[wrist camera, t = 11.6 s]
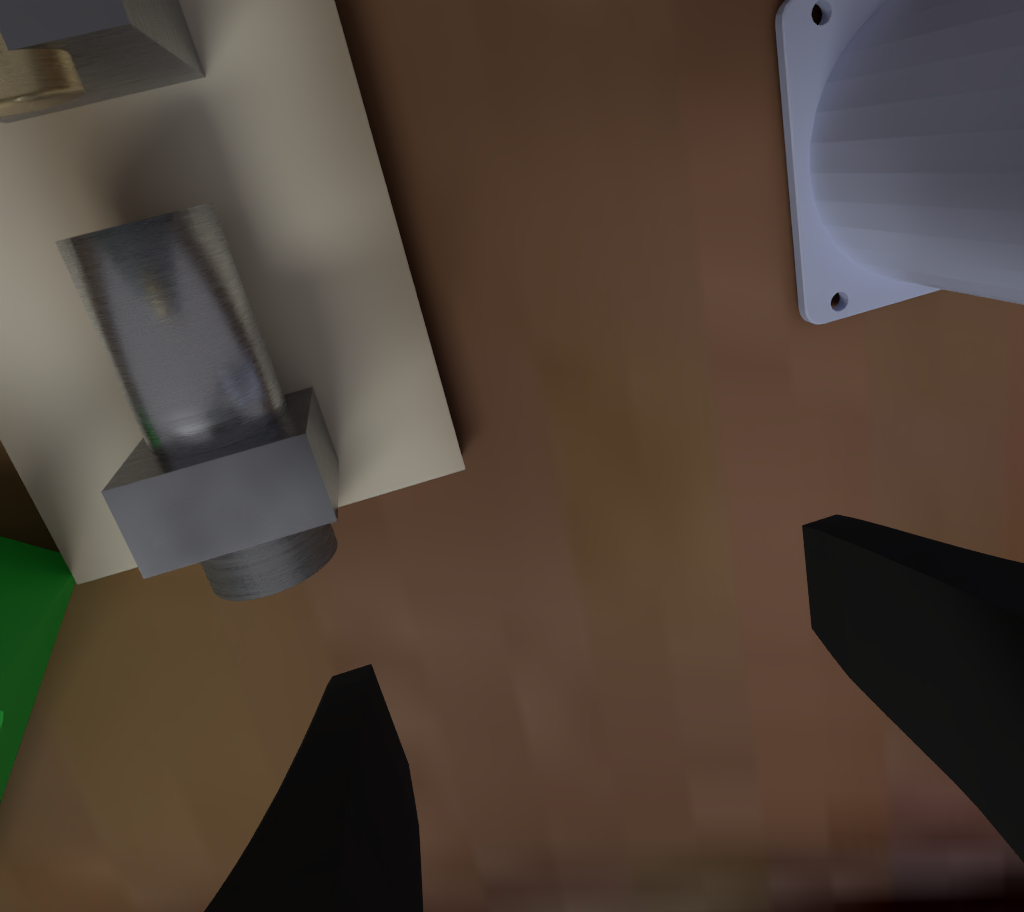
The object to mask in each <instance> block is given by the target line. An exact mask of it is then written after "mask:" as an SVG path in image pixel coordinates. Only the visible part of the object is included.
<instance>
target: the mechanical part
mask: <svg viewBox="0 0 1024 912" xmlns="http://www.w3.org/2000/svg"><path fill="white" fill-rule="evenodd" d="M74 584H75V579H74V577H73V575H72V573H71V571H70V570H69V568H68V566H67V564H66V562H65V560H64V558H63V556H62V555H61V553H59V552H56V551H52V550H48V549H45V548H41V547H37V546H34V545H30V544H27V543H23V542H19V541H16V540H12V539H8V538H5V537H1V536H0V802H1V799H2V796H3V793H4V790H5V788H6V785H7V782H8V779H9V776H10V773H11V770H12V767H13V764H14V761H15V758H16V755H17V752H18V749H19V746H20V743H21V740H22V737H23V735H24V732H25V729H26V726H27V723H28V720H29V717H30V714H31V711H32V708H33V705H34V702H35V699H36V696H37V693H38V690H39V687H40V684H41V682H42V679H43V676H44V673H45V670H46V667H47V664H48V661H49V658H50V655H51V652H52V649H53V646H54V643H55V640H56V637H57V634H58V631H59V629H60V626H61V623H62V620H63V617H64V614H65V611H66V608H67V605H68V602H69V599H70V596H71V593H72V590H73V587H74Z"/></svg>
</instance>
